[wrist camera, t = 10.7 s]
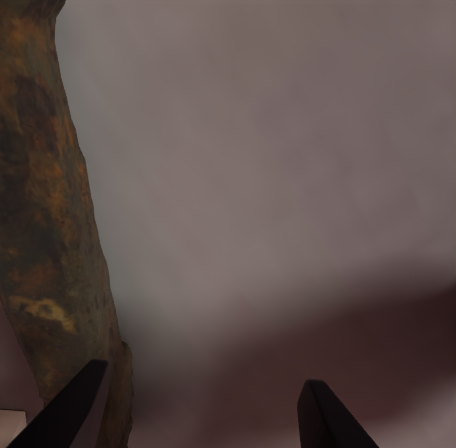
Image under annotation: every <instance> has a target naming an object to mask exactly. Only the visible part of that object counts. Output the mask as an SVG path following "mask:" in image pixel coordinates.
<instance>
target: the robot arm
mask: <svg viewBox="0 0 456 448" xmlns="http://www.w3.org/2000/svg"><path fill="white" fill-rule="evenodd" d="M109 382H110V361H109V360H107V359H96V358H94V359H91V360H90V361H89V362H88V363H87V364H86V365H85V366H84V367H83V368H82V369H81V370H80V371H79V372H78V373H77V374H76V375H75V377H74V378H73V379H72V380H71V381H70V382H69V383H68V384H67V385H66V386H65V387H64V388H63V389H62V390H61V391H60V392H59V393H58V394H57V395H56V396H55V397H54V398H53V399H52V400H51V401H50V402H49V403H48V404H47V405H46V406H45V407H44V408H43V409H42V410H41V411H40V413H39V414H38V415H37V416H36V417H35V418H34V419H33V420H32V421H31V422H30V423H29V424H28V425H27V426H26V427H25V428H24V429H23V430H22V431H21V432H20V433H19V434H18V435H17V436H16V437H15V438H14V439H13V440H12V441H11V442H10V443H9V444H8V445H7V446H6V447H5V448H95V445H96V441H97V437H98V433H99V429H100V424H101V420H102V416H103V412H104V408H105V404H106V399H107V395H108V391H109ZM297 412H298V422H299V432H300V442H301V448H379V447H378V446H377V444H376V443H375V442H374V441H373V440H372V438H371V437H370V436H369V435H368V434H367V432H366V431H365V430H364V429H363V428H362V426H361V425H360V424H359V423H358V422H357V420H356V419H355V418H354V417H353V415H352V414H351V413H350V412H349V411H348V409H347V408H346V407H345V406H344V405H343V403H342V402H341V401H340V400H339V399H338V397H337V396H336V395H335V394H334V392H333V391H332V390H331V389H330V388H329V386H328V385H327V384H326V383H325V382H324V381H323V380H318V379H307V380H306V381H305V383H304V386H303V388H302V391H301V394H300V396H299V399H298V404H297Z"/></svg>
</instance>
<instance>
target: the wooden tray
mask: <svg viewBox="0 0 456 448" xmlns="http://www.w3.org/2000/svg"><path fill="white" fill-rule="evenodd" d="M26 425H27V424H26V415H25V411H12V410H0V448H5V447H6V446H7V445H8V444H9V443H10V442H11V441H12V440H13V439H14V438H15V437H16V436H17V435H18V434H19V433H20V432H21V431H22V430H23V429H24V428H25V427H26Z"/></svg>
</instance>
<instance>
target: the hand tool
mask: <svg viewBox="0 0 456 448" xmlns="http://www.w3.org/2000/svg"><path fill="white" fill-rule="evenodd" d="M65 1H66V0H0V299H1V301H2V304H3V306H4V309H5V312H6V315H7V317H8V319H9V321H10V323H11V325H12V327H13V330H14V332H15V335H16V337H17V340H18V342H19V344H20V346H21V348H22V350H23V352H24V355H25V357H26V359H27V361H28V363H29V365H30V367H31V369H32V371H33V374H34V376H35V378H36V381H37V384H38V388H39V395H40V397H41V398H43V400H44V406H43V408H44V407H45V406H46V405H47V404H48V403H49V402H50V401H51V400H52V399H53V398H54V397H55V396H56V395H57V394H58V393H59V392H60V391H61V390H62V389H63V388H64V387H65V386H66V385H67V384H68V383H69V382H70V381H71V380H72V379H73V378H74V377H75V375H76V374H77V373H78V372H79V371H80V370H81V369H82V368H83V367H84V366H85V365H86V364H87V363H88V362H89V361H90V360H91V359H94V358H96V359H107V360H109V361H110V382H109V391H108V395H107V399H106V404H105V408H104V412H103V416H102V420H101V424H100V429H99V433H98V437H97V441H96V445H95V448H128V446H127V443H128V438H129V434H130V432H131V429H132V424H133V421H132V416H131V409H132V397H133V385H132V354H131V351H130V348H129V346H128V344H127V343H126V342H123V341H121V337H120V333H119V327H118V322H117V316H116V310H115V306H114V301H113V297H112V293H111V289H110V280H109V272H108V267H107V262H106V260H105V257H104V255H103V252H102V249H101V245H100V240H99V235H98V230H97V226H96V222H95V219H94V207H93V202H92V199H91V193H90V187H89V181H88V175H87V169H86V162H85V158H84V156H83V154H82V152H81V150H80V147H79V144H78V139H77V134H76V129H75V127H74V124H73V122H72V120H71V115H70V111H69V106H68V101H67V97H66V93H65V90H64V86H63V83H62V79H61V74H60V68H59V62H58V57H57V52H56V46H55V23H56V17H57V15H58V14H59V12H60V11H61V9H62V7H63V6H64V4H65Z"/></svg>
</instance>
